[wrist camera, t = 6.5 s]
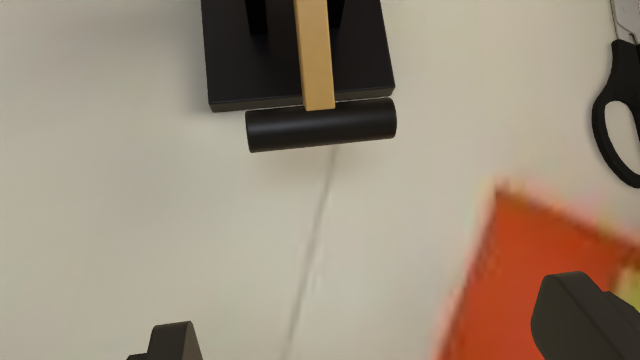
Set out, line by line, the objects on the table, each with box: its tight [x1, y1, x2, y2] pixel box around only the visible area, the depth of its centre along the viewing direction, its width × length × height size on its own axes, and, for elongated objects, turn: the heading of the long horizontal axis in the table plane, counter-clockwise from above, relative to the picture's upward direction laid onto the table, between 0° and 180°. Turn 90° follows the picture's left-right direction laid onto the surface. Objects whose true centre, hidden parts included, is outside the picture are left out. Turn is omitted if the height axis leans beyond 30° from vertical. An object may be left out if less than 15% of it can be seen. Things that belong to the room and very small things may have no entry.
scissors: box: [592, 0, 640, 188], centre depth 28 cm, size 7×1×20 cm
